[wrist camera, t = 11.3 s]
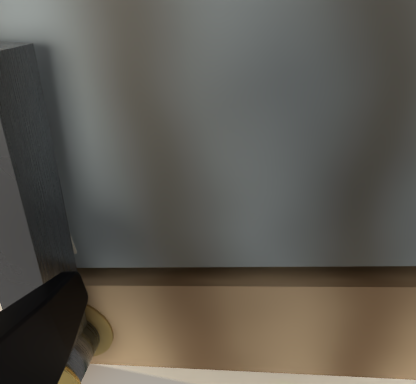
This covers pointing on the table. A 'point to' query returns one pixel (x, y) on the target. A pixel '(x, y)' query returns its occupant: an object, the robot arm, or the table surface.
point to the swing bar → (33, 197)
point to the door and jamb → (237, 177)
